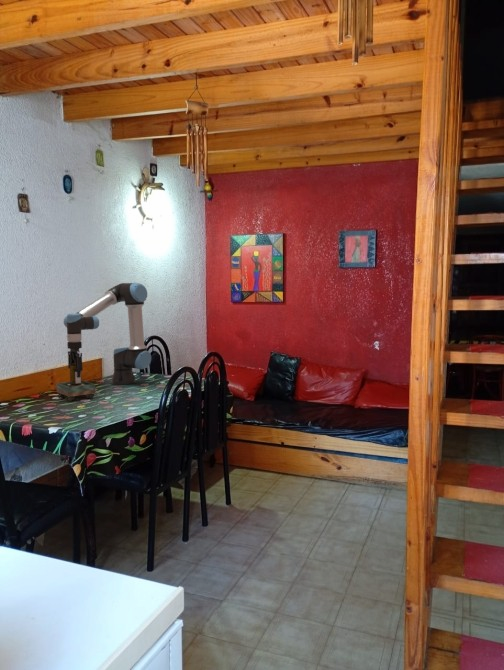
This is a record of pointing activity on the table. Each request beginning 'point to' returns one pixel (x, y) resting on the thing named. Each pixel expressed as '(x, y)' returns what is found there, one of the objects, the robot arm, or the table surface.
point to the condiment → (73, 376)
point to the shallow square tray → (75, 390)
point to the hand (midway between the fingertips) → (75, 382)
